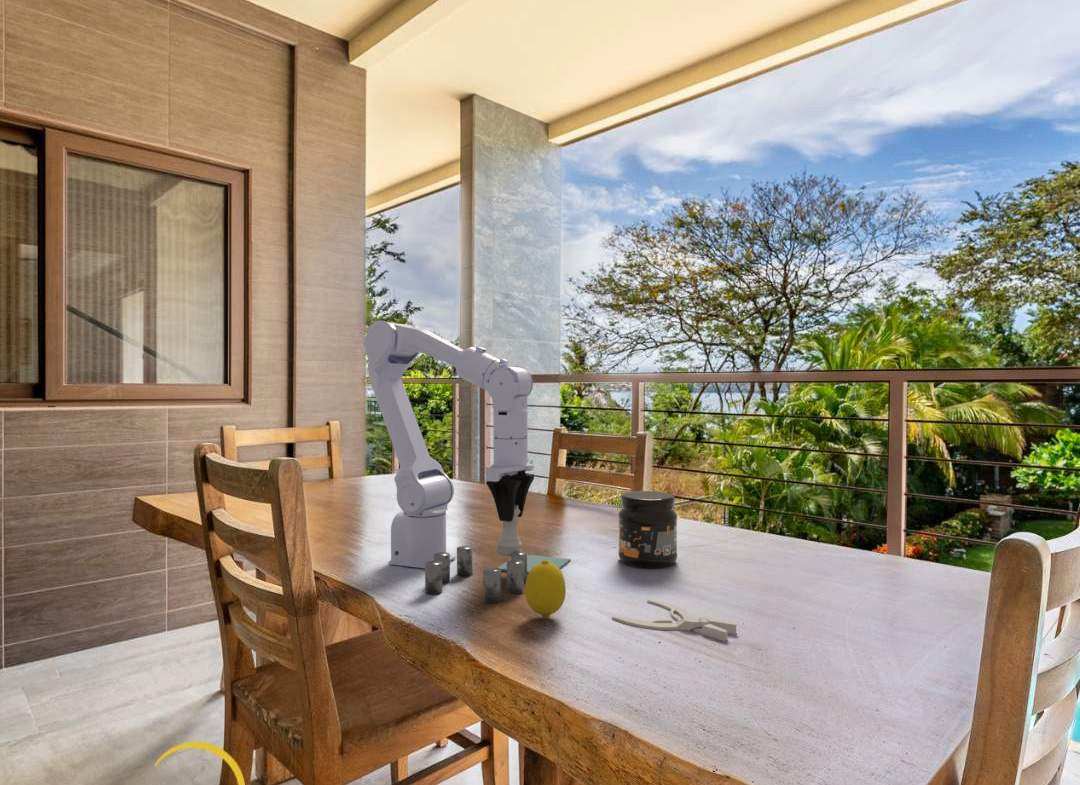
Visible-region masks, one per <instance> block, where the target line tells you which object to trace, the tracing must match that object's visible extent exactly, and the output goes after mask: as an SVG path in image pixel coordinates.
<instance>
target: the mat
mask: <svg viewBox="0 0 1080 785" xmlns="http://www.w3.org/2000/svg"><path fill="white" fill-rule="evenodd" d="M510 560H511V559H509V560H508V561H510ZM543 560H548V561H549V562H550V563H553V564H554V565H556V566H557V567H558V568H559V569H560V570H561V569H564V567H565V566H566V565H568V564H569V563H570V562H571V558H563V557H556V556H555V557H553V556H543V555H536V554H535V555H534V554H527V575H528V573H529V571H530V570H531V569H532V567H534V566H535V565H536V564H538V563H541V562H542V561H543ZM497 568H500V569H501V572H506V573H507V561H506V562H504V563H503V564H501V565H500V566H498V567H497Z"/></svg>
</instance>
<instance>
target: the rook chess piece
mask: <svg viewBox="0 0 1080 785" xmlns="http://www.w3.org/2000/svg"><path fill="white" fill-rule="evenodd" d="M519 513H520V510H519V509H518V505H516V507H515V508H514V516H513V520H512V521H511V522H508V521H502V529H501V530H502V531H501V534H500V536H499V539H498V540H497V543H496V547H497V548H496V549H495V551H496V552H497V554H498V555H501V556H503V557H511V553H512V552H516V551H523V549H521V548H522V546H523V544H522V541H521V538H520V537H519V531H518V522H519V521H520V520H519V519H518V518H519V517H517V516H518V515H519Z"/></svg>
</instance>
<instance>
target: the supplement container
mask: <svg viewBox="0 0 1080 785" xmlns="http://www.w3.org/2000/svg"><path fill="white" fill-rule="evenodd" d="M675 504H676V503H675V496H674V495H673V494H671V493H667V492H663V491H655V490H654V491H653V490H652V491H651V490H637V491H636V490H635V491H627V492H624V493H622V494H621V496H620V505H621V507H622V508H621V509H620V510H619V512H618V514H617V517H618V518H617V519H618V557H619V560H620V561H621V562H623V564H626V565H628V566H631V567H635V568H642V569H659V568H660V569H661V568H666V567H669V566H672V565H673V564H674V563H676V561H677V560H678V551H677V548H678V546H677V545H678V543H677V540H678V539H677V538H678V535H677V534H678V532H677V531H678V530H677V528H678V527H677V526H678V525H677V524H678V523H677V522H678V514H677V512H676V511H675V510H674V508H675Z"/></svg>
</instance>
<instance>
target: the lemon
mask: <svg viewBox="0 0 1080 785" xmlns="http://www.w3.org/2000/svg"><path fill="white" fill-rule="evenodd" d="M524 584H525V586H524V587H525V588H524V592H525V598H526V602H527V605H528V607H529V608H530V609H531V610H532V611H533V612H534V613H536V614H538V615H540V616H541V617H542V618H543V619H549V617H550V616H551V615H552V614H556V612H558V611H559V610H560V609H561V607H562V606H563V604H564V602H565V599H566V590H567V588H566V581H565V577H564V574H563V571H562V570H561V569H559V568H558V567H557V566H556V565H554V564H553V563H550V562H549V561H548V560H543V561H542V562H541V563H538V564H536V565H535V566H534V567H532V569H531V570H530V571H529V573H528V574H527V579H526V582H525V583H524Z"/></svg>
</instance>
